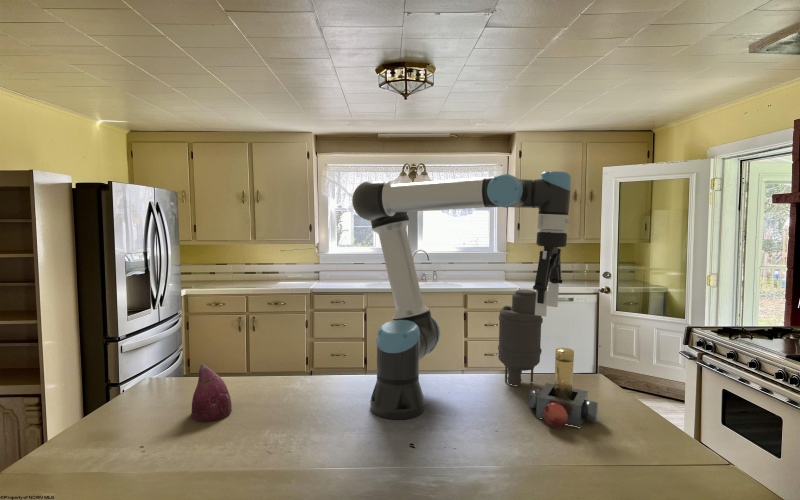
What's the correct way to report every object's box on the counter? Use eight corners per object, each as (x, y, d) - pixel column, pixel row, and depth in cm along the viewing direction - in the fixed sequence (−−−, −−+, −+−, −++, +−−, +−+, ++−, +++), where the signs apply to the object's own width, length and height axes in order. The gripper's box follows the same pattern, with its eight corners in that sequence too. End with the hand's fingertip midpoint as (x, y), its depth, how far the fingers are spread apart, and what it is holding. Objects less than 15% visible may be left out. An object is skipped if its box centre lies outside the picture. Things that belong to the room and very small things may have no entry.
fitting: (551, 405, 119) (554, 350, 118) (555, 399, 123) (557, 346, 121) (569, 409, 116) (572, 354, 115) (573, 403, 120) (575, 349, 119)
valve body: (520, 420, 116) (521, 396, 116) (535, 400, 129) (536, 379, 128) (590, 438, 108) (591, 412, 107) (599, 415, 120) (600, 391, 120)
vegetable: (185, 429, 117) (167, 376, 115) (215, 408, 126) (198, 359, 124) (214, 427, 112) (195, 372, 111) (242, 406, 122) (225, 355, 120)
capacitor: (533, 394, 134) (536, 296, 131) (490, 384, 141) (493, 291, 139) (545, 380, 145) (548, 289, 143) (505, 371, 152) (508, 285, 150)
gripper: (556, 233, 104) (550, 322, 106) (575, 230, 125) (570, 304, 127) (524, 231, 108) (519, 317, 110) (548, 229, 129) (543, 301, 131)
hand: (546, 310), depth 118 cm, fingers open, 13 cm apart
